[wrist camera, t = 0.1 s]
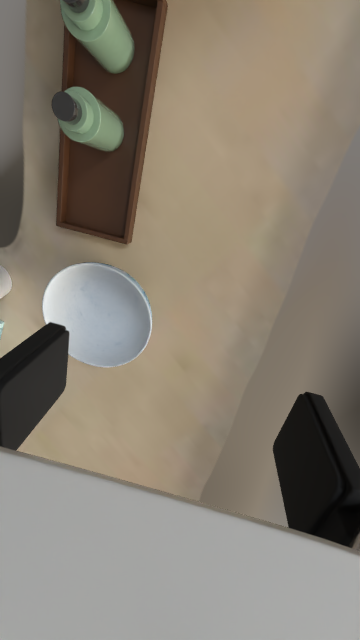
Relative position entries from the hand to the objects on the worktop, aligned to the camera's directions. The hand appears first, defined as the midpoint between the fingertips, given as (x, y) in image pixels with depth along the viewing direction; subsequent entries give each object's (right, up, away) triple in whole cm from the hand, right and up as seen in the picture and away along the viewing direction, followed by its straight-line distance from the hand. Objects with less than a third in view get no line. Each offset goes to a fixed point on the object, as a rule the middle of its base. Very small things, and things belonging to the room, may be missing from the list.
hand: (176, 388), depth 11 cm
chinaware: (-10, +6, +33) cm, 35 cm away
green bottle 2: (-9, +26, +24) cm, 36 cm away
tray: (-9, +26, +24) cm, 37 cm away
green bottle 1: (-7, +33, +20) cm, 39 cm away
